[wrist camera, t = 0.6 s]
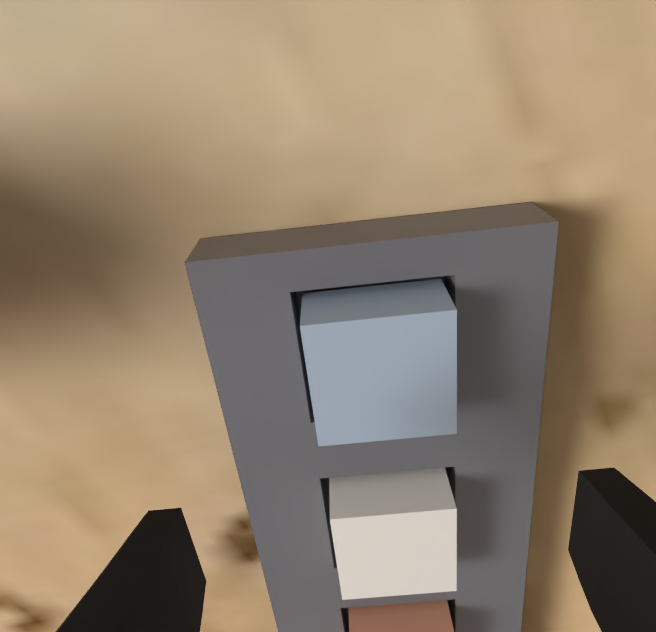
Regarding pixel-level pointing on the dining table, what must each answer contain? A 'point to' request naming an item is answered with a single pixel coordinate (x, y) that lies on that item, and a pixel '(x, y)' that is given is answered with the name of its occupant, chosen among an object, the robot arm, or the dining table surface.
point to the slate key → (381, 361)
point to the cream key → (394, 533)
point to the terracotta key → (402, 617)
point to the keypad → (389, 455)
